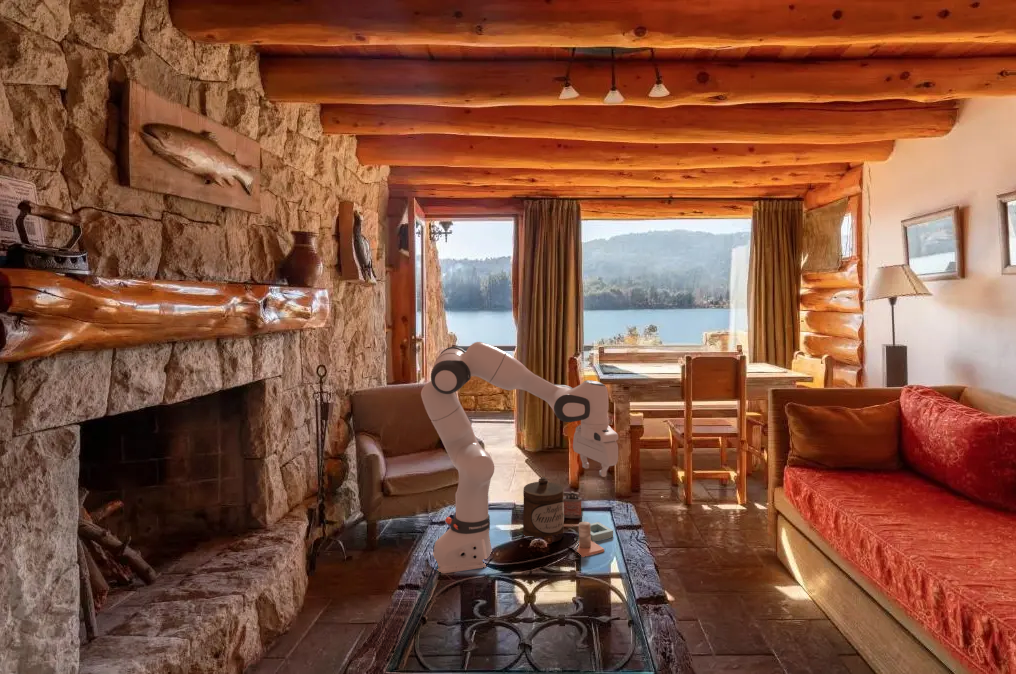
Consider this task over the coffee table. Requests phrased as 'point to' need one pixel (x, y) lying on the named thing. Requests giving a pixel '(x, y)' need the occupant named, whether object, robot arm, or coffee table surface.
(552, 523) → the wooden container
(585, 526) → the peg
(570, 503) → the lighter
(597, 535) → the pocket holder
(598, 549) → the terracotta tile
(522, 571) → the coffee table surface
